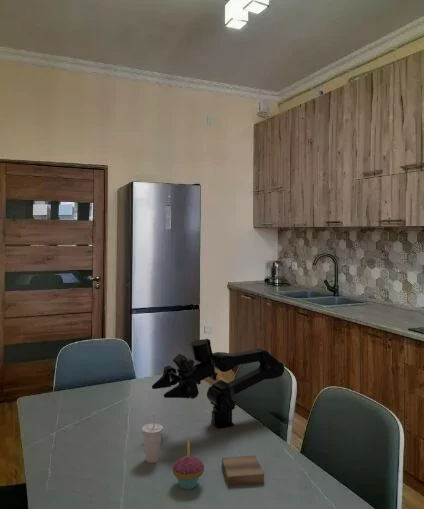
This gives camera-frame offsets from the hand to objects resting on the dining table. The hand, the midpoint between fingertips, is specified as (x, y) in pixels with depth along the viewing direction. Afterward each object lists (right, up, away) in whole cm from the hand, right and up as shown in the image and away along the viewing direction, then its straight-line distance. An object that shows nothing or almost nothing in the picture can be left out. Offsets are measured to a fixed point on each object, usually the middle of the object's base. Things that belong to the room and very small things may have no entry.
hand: (158, 391), depth 139 cm
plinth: (+26, -17, -19) cm, 37 cm away
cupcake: (+11, -18, -24) cm, 32 cm away
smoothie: (0, -17, -11) cm, 20 cm away
